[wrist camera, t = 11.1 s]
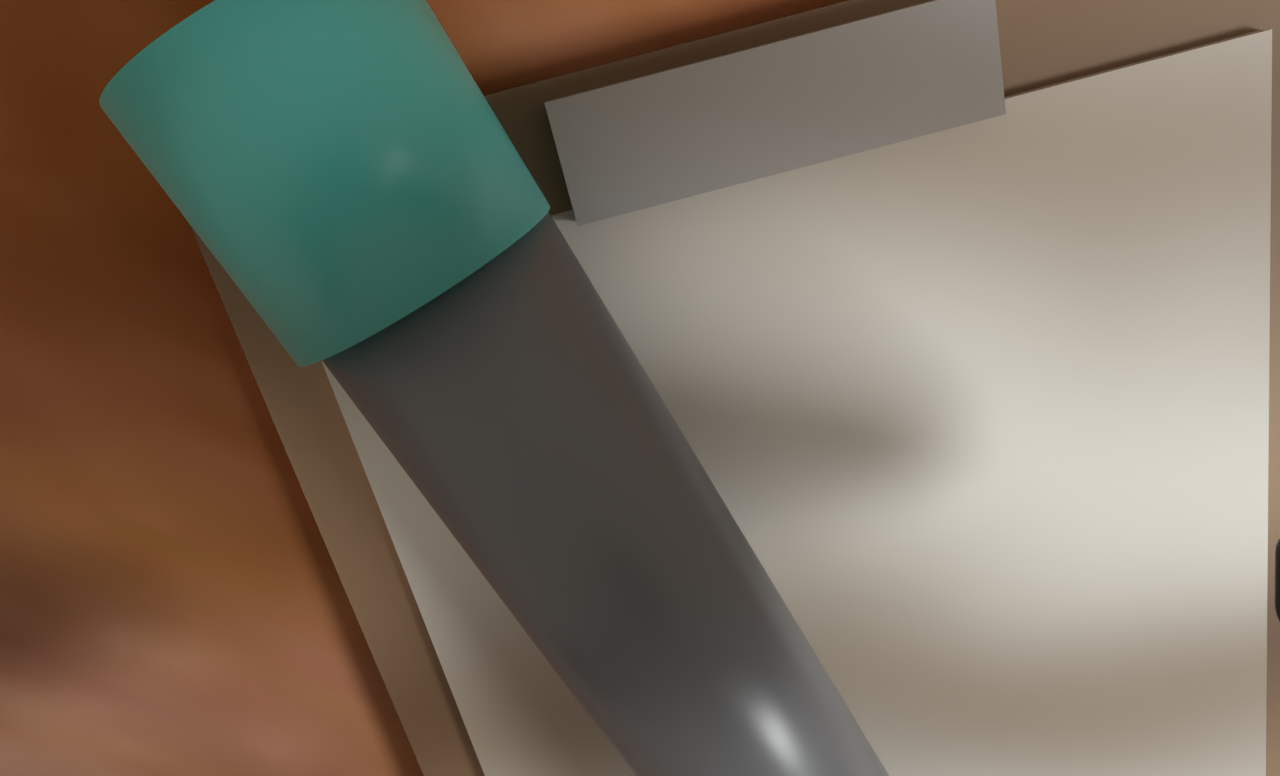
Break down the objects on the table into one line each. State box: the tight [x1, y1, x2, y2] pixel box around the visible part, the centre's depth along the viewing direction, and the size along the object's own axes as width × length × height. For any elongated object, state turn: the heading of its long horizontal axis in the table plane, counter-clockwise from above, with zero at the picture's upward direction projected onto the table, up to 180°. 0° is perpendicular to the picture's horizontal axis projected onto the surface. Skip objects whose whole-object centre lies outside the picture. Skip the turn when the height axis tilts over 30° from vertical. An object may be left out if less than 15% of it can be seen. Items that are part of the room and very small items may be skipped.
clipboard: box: [189, 0, 1280, 776], centre depth 11 cm, size 16×12×1 cm
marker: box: [99, 0, 889, 776], centre depth 10 cm, size 16×3×3 cm
